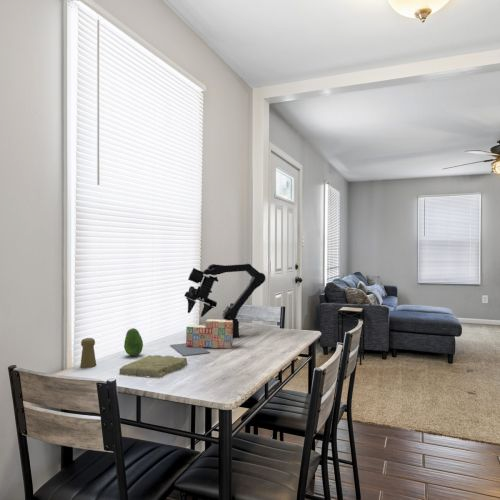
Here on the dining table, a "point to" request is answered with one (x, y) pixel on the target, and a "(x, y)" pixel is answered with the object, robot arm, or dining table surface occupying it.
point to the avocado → (133, 342)
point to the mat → (188, 349)
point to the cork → (88, 353)
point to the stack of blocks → (210, 334)
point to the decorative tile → (153, 366)
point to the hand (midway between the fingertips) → (195, 314)
